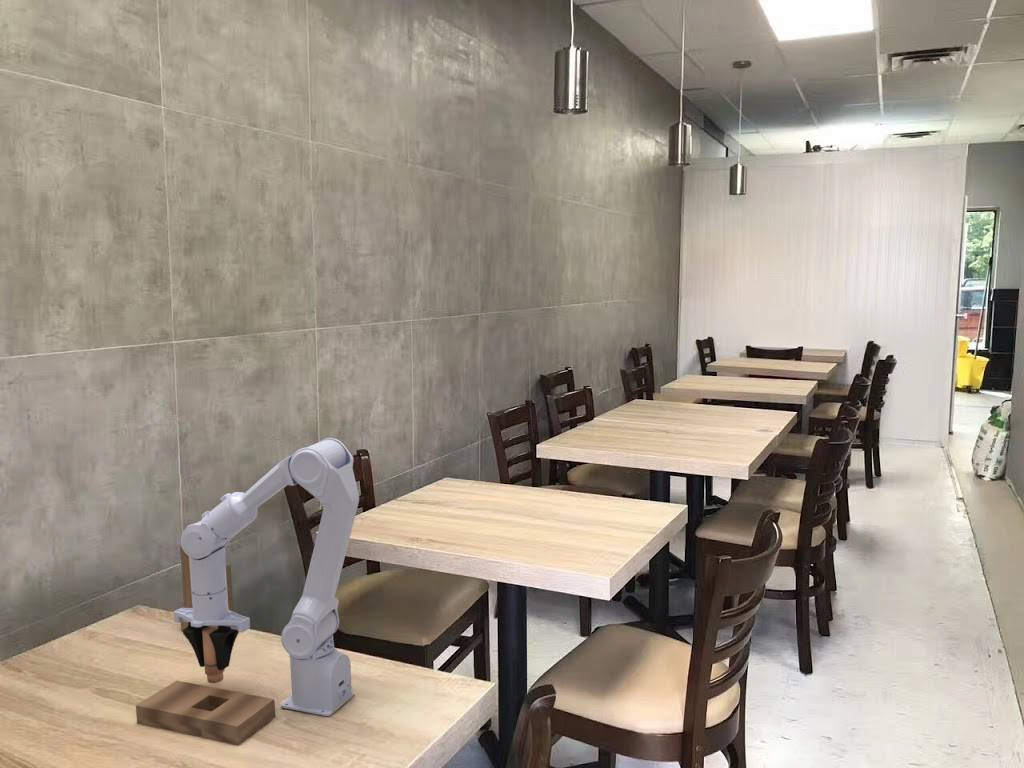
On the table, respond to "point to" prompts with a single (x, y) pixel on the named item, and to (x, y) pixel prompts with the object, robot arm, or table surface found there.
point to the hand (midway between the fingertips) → (214, 666)
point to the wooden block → (187, 584)
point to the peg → (210, 657)
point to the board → (206, 712)
